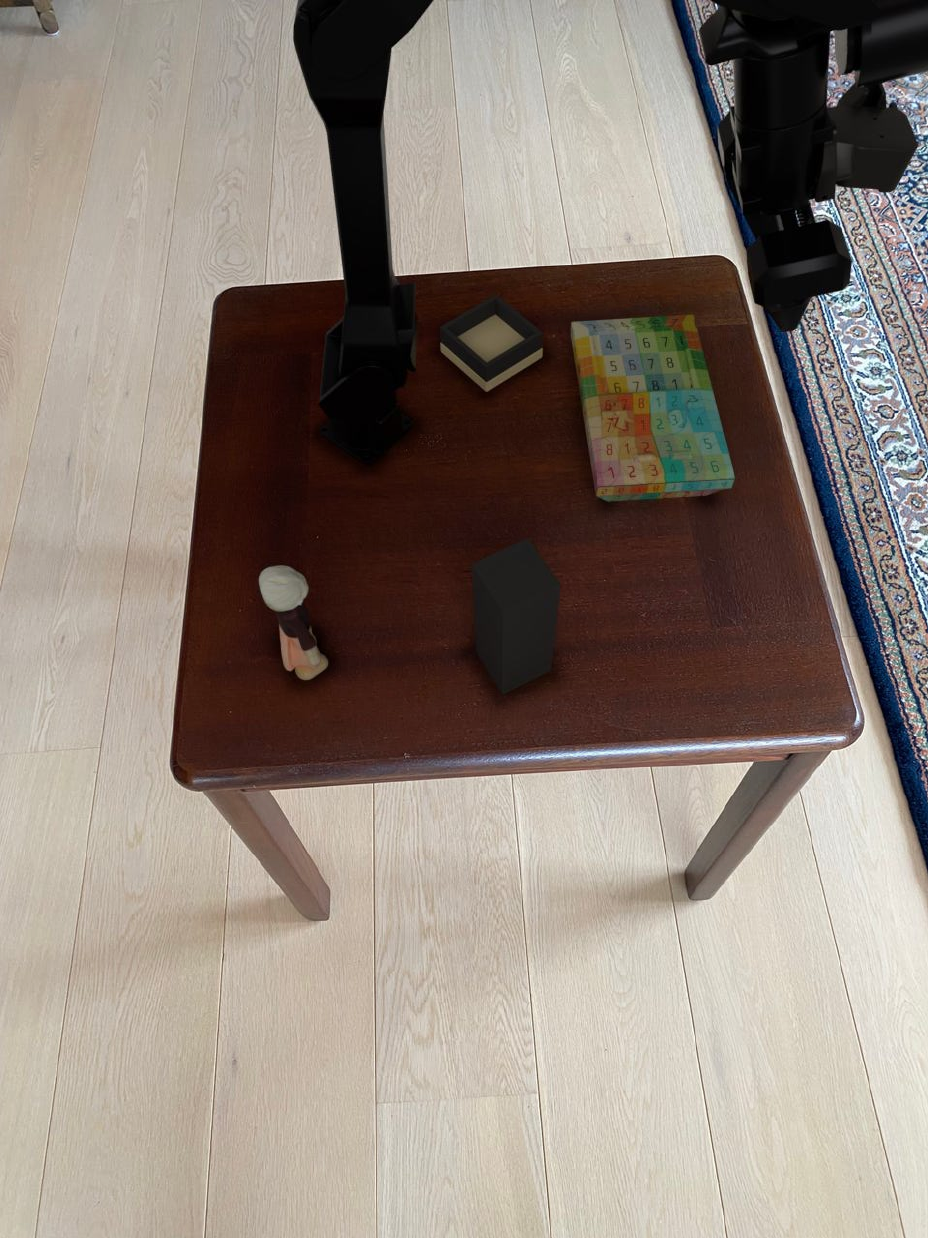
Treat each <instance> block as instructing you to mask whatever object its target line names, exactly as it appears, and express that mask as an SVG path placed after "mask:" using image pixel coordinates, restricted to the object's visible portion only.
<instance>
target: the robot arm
mask: <svg viewBox="0 0 928 1238" xmlns="http://www.w3.org/2000/svg"><path fill="white" fill-rule="evenodd" d="M434 1H435V0H297V2H296V8H295V15H294V20H293V21H294V22H293V28H292V29H293V30H292V31H293V32H292V40H293V41H292V42H293V46H294V50H295V53H296V56H297V60H298V63H299V66H300V71H301V73H302V76H303V80H304V83H305V86H306V90H307V93H308V96H309V98H310V100H311V102H312V104H313V106H314V109H316V112H317V115H319V117H320V119H321V121H322V123H323V126H324V129H325V132H326V139H327V146H328V147H327V148H328V156H329V164H330V165H329V166H330V172H331V181H332V188H333V189H332V190H333V198H334V206H335V207H334V208H335V216H336V223H337V234H338V243H339V251H340V258H341V268H342V275H343V284H344V294H345V297H344V306H343V307H344V308H343V316H342V318H341V319H340V320H339V321H337V322H336V323H335V324H334V325H333V326H332V327H331V328H330V329H329V330H328V331H327V332H326V333H325V337H324V338H325V339H324V346H323V347H324V348H323V357H322V358H323V359H322V366H321V367H322V368H321V377H320V387H319V397H318V406H319V408H320V409H321V410H322V412H323V413H324V414H325V415H326V417H327V418H328V419H329V420H327V421H326V422H325V423H324V424H322V426H321V427H320V428H319V434H320V436H321V437H323V438H324V439H326V441H328V442H330V443H331V444H333V445H335V446H336V447H338V448H339V449H340V450H342V451H343V452H344V453H346V454H348V455H349V456H351V457H352V458H354V459H355V460H357V461H358V462H360V463H361V464H363V465H365V466H370V465H372V464H373V463H375V462H376V461H377V460H378V459H379V458H380V457H382V456H383V454H385V453H386V452H388V451H389V450H391V448H392V447H394V445H396V444H397V443H398V442H399V441H400V440H402V438H404V436H405V435H406V434H407V433H408V432H409V431H410V430H411V429H412V428H413V427H414V424H413V423H414V422H413V420H412V419H411V418H409V417H408V416H406V415H404V414H403V413H402V410H401V405H400V404H399V403H398V395H397V391H398V389H401V388H402V389H403V388H404V387H405V385H406V384H407V381H408V376H409V371H410V372H411V373H415V372H416V371H417V348H418V347H417V343H418V313H417V312H416V286H417V284H416V282H409V283H408V282H407V283H401V284H400V282H399V280H398V278H397V277H396V275H395V272H394V267H393V250H392V232H391V220H390V219H391V217H390V216H391V215H390V200H389V198H390V197H389V182H388V165H387V148H386V132H385V116H384V115H385V113H384V112H385V107H386V99H387V90H388V83H389V75H390V67H391V58H392V49H393V48H394V47H395V46H396V45H397V44H398V43H400V41H401V40H402V39H404V38H405V37H406V36H407V35H408V34H409V33H410V32H411V31H412V29H413V28H414V27H415V26H416V25H417V23H418V22H419V20H420V19H421V18H422V17H423V15H424V14H425V13H426V12H427V10H428V9H429V7H430V6H431V4H433V2H434ZM709 1H710V2H712V3H713V4H716V5H717V6H718V7H717V9H716V10H715V11H714V12H713V13H712V14H711V15H710V16H709V17H707V19H706V20H705V21H704V22H703V23H702V24H701V25H700V27H699V29H698V36H699V40H700V44H701V48H702V53H703V58H704V61H705V63H706V65H707V66H711V67H712V66H715V65H719V64H723V63H725V62H730V61H732V73H733V74H732V78H733V103H734V104H733V105H732V106H729V111H728V112H727V114H725V116H724V117H723V118H722V119H721V120H720V122H719V123H718V124H717V141H718V150H719V155H720V160H721V164H722V168H723V171H724V177H725V182H726V184H727V186H728V188H729V190H730V191H731V194H732V196H733V197H734V199H735V202H736V204H737V206H738V207H739V210H740V211H741V213H742V216H743V217H744V219H745V221H746V223H747V225H748V227H749V230H750V231H751V234H752V235H753V237H754V239H755V240H754V241H753V242H752V243H751V244H750V245H749V246H748V247H747V248H746V249H745V251H746V253H745V254H746V267H747V275H748V281H749V286H750V290H751V294H752V298H753V302H754V304H755V305H758V306H760V307H763V308H764V309H765V311H766V313H767V314H768V315H769V316H770V318H771V319H772V321H773V322H774V323H775V325H776V326H777V327H778V329H779V331H780V332H781V333H789V332H793V331H796V330H798V327H799V325H800V322H801V321H802V318H803V317H804V315H805V312H806V310H807V308H808V307H809V304H810V303H811V300H812V298H814V297H820V296H824V295H828V294H833V293H837V292H843V291H844V290H845V289H846V288H847V286H849V285H850V284H851V276H852V275H851V274H852V265H853V264H852V263H853V260H852V256H851V254H850V251H849V247H848V245H847V241H846V238H845V236H844V235H845V234H844V232H843V229H842V226H840V225H838V224H836V223H835V222H833V221H831V220H830V219H824V220H821V221H816V219H815V214H814V211H813V208H812V205H811V200H814V202H815V203H816V204H818V203H819V204H820V203H823V202H827V201H831V200H835V199H836V190H837V189H836V188H837V187H841V188H846V189H864V190H876V191H878V193H881V194H882V193H883V194H884V193H885V194H888V193H892V192H894V191H896V189H897V187H898V186H899V184H900V182H901V180H902V178H903V176H904V174H905V172H906V171H907V168H908V167H909V165H910V164H911V163H910V162H911V161H912V159H913V157H914V155H915V153H916V151H917V150H918V148H919V143H918V140H917V137H916V135H915V133H914V130H913V127H912V125H911V123H910V120H909V118H908V116H907V115H906V114H905V112H903V111H902V110H900V109H899V107H898V104H897V103H896V102H892V101H891V102H890V103H889V105H888V106H887V91H886V89H885V87H884V84H885V83H889V82H892V81H896V80H900V79H904V78H907V77H911V76H915V75H919V74H923V73H927V72H928V0H709ZM831 32H834V33H833V34H834V37H833V38H834V54H835V61H836V65H837V66H836V67H837V70H838V72H839V74H840V75H841V76H846V75H849V74H852V73H853V75H854V83H853V84H852V85H851V86H850V87H849V88H848V89H847V90H846V91H845V92H844V93H843V94H842V95H841V97H840V98H839V99H838V100H837V103H836V105H835V106H828V87H829V70H830V69H829V68H830V50H831V49H830V48H831V47H830V46H831Z"/></svg>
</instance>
